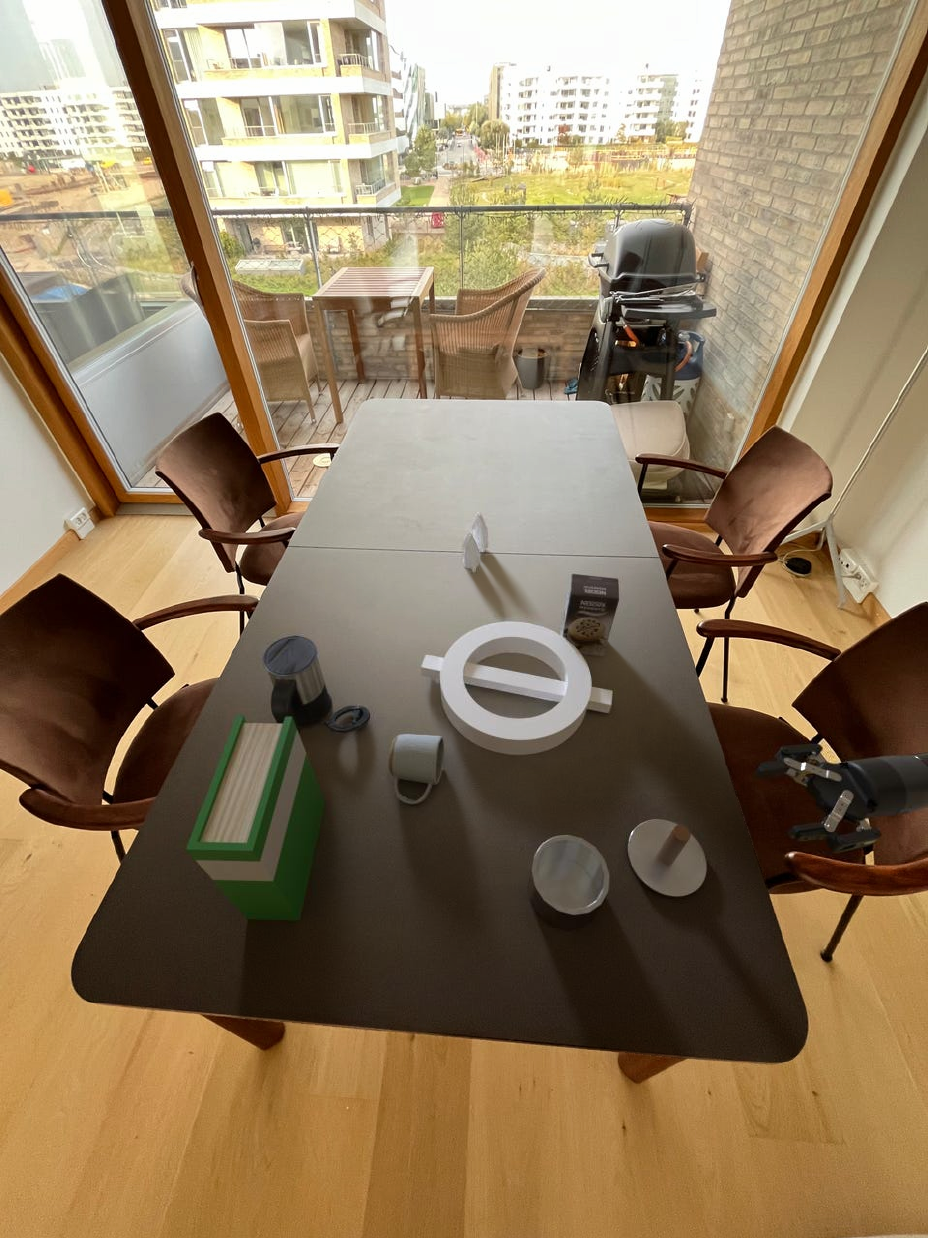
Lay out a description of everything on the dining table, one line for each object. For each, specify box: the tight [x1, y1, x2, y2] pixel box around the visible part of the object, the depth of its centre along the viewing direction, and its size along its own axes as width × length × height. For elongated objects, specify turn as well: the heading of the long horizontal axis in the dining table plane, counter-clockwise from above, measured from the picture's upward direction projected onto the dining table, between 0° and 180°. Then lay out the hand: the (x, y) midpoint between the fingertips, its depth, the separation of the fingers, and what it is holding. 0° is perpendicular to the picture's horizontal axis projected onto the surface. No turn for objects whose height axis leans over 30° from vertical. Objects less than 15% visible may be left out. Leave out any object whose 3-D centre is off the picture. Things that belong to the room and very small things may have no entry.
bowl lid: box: [626, 818, 708, 898], centre depth 80 cm, size 11×11×9 cm
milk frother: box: [261, 635, 371, 737], centre depth 97 cm, size 14×16×15 cm
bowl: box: [527, 834, 611, 932], centre depth 77 cm, size 10×10×7 cm
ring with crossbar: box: [420, 621, 613, 756], centre depth 104 cm, size 28×28×5 cm
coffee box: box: [559, 573, 620, 658], centre depth 109 cm, size 9×6×16 cm
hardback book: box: [185, 715, 326, 922], centre depth 75 cm, size 18×7×24 cm, turn 179°
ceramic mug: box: [388, 733, 445, 805], centre depth 90 cm, size 11×8×8 cm
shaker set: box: [462, 511, 489, 573], centre depth 131 cm, size 12×4×11 cm, turn 160°
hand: (773, 801), depth 74 cm, fingers open, 8 cm apart
